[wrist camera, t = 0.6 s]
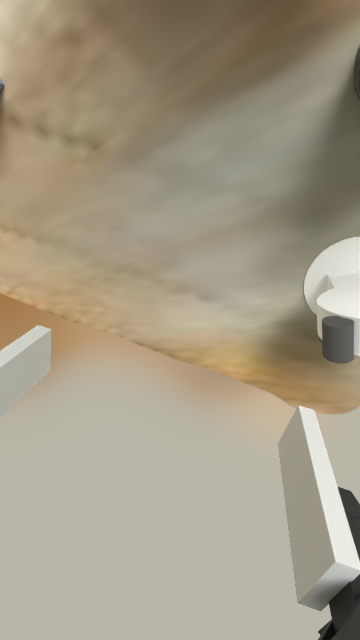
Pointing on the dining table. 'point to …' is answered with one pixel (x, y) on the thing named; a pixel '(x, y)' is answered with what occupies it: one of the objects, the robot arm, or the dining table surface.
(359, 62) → the canister
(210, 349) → the dining table surface
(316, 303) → the light grey upright piece
